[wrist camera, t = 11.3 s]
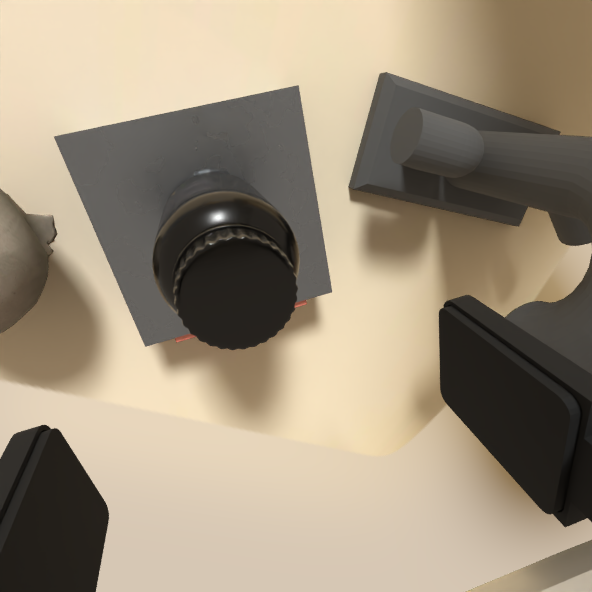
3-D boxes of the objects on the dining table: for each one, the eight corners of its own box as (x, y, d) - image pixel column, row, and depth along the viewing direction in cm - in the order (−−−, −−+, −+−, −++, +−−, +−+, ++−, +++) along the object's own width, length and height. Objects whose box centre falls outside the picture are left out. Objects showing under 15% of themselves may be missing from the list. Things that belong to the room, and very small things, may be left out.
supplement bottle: (289, 220, 27) (358, 289, 16) (221, 292, 28) (244, 402, 17) (211, 143, 24) (233, 167, 13) (136, 227, 25) (102, 312, 14)
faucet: (318, 271, 35) (459, 433, 17) (372, 71, 29) (661, 6, 12) (482, 295, 41) (713, 434, 23) (553, 132, 35) (928, 151, 17)
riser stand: (280, 89, 28) (298, 85, 24) (314, 275, 35) (333, 298, 30) (75, 132, 26) (53, 136, 22) (152, 321, 33) (148, 353, 28)
